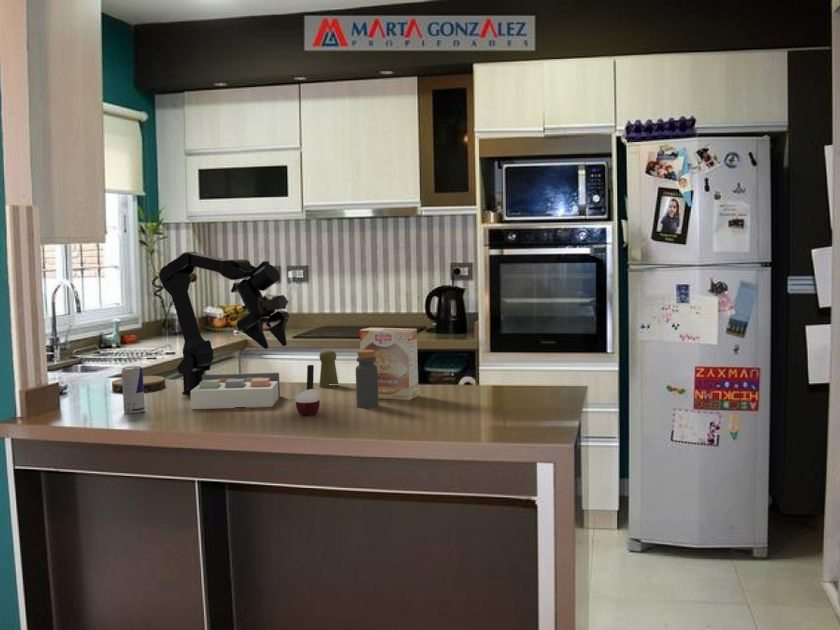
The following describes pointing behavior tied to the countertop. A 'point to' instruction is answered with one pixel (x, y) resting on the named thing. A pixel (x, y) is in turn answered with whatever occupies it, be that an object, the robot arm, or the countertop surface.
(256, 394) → the keypad housing
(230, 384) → the slate key
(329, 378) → the cork
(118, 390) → the wood slice
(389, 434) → the countertop surface
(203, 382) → the sage key
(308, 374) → the rounded body with stick
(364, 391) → the bottle
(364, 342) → the coffeecake box
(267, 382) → the terracotta key
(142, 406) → the energy drink
